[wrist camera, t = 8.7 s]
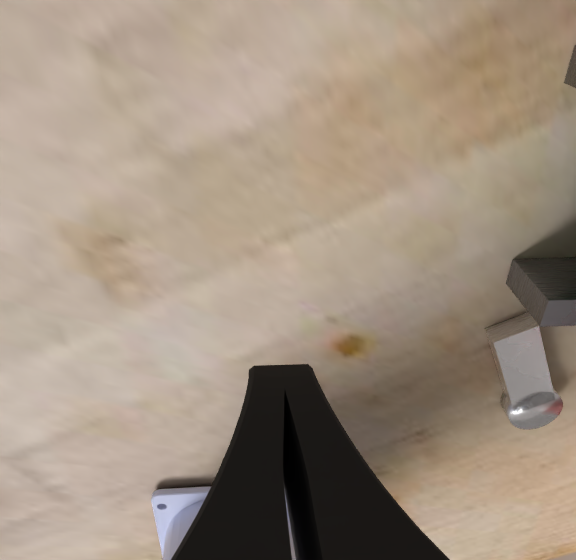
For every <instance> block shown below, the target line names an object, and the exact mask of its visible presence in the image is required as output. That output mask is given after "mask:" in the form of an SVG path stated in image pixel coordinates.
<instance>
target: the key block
mask: <svg viewBox="0 0 576 560" xmlns="http://www.w3.org/2000/svg"><path fill="white" fill-rule="evenodd" d="M485 331H486V334H487V338H488V341H489V344H490V348H491V351H492V354H493V358H494V361H495V364H496V368H497V371H498V374H499V378H500V381H501V384H502V388H503V391H504V393H503V395H502V397H501V405H502V408H503V409H504V411H505V413H506V415H507V416H508V418H509V420H510V422H511V423H512V424H513V425H514V426H515V427H517V428H520V429H535V428H539V427H542V426H544V425H547V424H548V423H550V422H551V421H553V420H554V419H555V418H556V417H557V416H558V415H559V414H560V412H561V410H562V407H563V401H562V399H561V397H560V396H559V394H558V393H557V392H556V390H555V389H554V387H553V386H552V382H551V377H550V373H549V369H548V364H547V360H546V355H545V351H544V346H543V342H542V337H541V333H540V328H539V325H538V324H537V323H536V322H535V320H534V319H533V318H532V316H531V315H530V314H529V313H525V314H523V315H520V316H517V317H515V318H512V319H509V320H506V321H504V322H501V323H498V324H496V325H493V326H490V327H488V328H485Z"/></svg>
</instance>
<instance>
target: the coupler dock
mask: <svg viewBox="0 0 576 560" xmlns="http://www.w3.org/2000/svg"><path fill="white" fill-rule="evenodd" d="M564 83H566V84H568V85H570V86H573V87H575V88H576V45H575V47H574V50H573V54H572V57H571V61H570V64H569V68H568V71H567V75H566V78H565V82H564ZM506 284H507V285H508V287H509V288H510V289H511V290H512V292H513V293H514V294H515V296H516V297H517V298H518V299H519V301H520V302H521V303H522V305H523V306H524V307H525V308H526V310H527V311H528V312H529V314H530V315H531V316H532V317H533V319H534V320H535V321H536V322H537V324H538V325H539V326H540V327H543V326H572V325H576V258H542V259H513V261H512V265H511V268H510V272H509V275H508V278H507V282H506Z"/></svg>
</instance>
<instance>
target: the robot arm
mask: <svg viewBox="0 0 576 560" xmlns="http://www.w3.org/2000/svg"><path fill="white" fill-rule="evenodd" d="M151 502H152V507H153V512H154V517H155V522H156V527H157V531H158V536H159V541H160V546H161V551H162V556H163V559H162V560H449V559H448V557H447V556H446V555H445V554H444V553H443V552H442V551H441V550H440V549H439V548H438V547H437V546H436V545H435V544H434V543H433V542H432V541H431V540H430V539H429V538H428V537H427V536H426V535H425V534H424V533H423V532H422V531H421V530H420V529H419V528H418V526H417V525H416V524H415V523H414V522H413V521H412V520H411V518H410V517H409V516H408V515H407V514H406V513H405V512H404V510H403V509H402V508H401V507H400V506H399V505H398V503H397V502H396V501H395V500H394V498H393V497H392V496H391V495H390V494H389V492H388V491H387V490H386V489H385V487H384V486H383V485H382V483H381V482H380V481H379V479H378V478H377V477H376V475H375V474H374V473H373V471H372V470H371V469H370V467H369V466H368V464H367V463H366V462H365V460H364V459H363V457H362V456H361V455H360V453H359V452H358V450H357V449H356V447H355V446H354V444H353V443H352V441H351V439H350V438H349V436H348V435H347V433H346V431H345V430H344V428H343V427H342V425H341V423H340V422H339V420H338V418H337V417H336V415H335V413H334V412H333V410H332V408H331V406H330V404H329V402H328V401H327V399H326V397H325V395H324V393H323V391H322V389H321V387H320V385H319V383H318V380H317V378H316V376H315V374H314V371H313V368H312V367H311V366H309V365H308V364H300V365H265V366H253V367H252V368H251V369H249V379H248V386H247V391H246V395H245V399H244V403H243V407H242V410H241V414H240V417H239V419H238V422H237V425H236V428H235V431H234V434H233V437H232V440H231V442H230V445H229V447H228V450H227V452H226V454H225V457H224V459H223V461H222V464H221V466H220V468H219V471H218V473H217V475H216V478H215V480H214V482H213V484H212V486H207V487H189V488H171V489H158V490H156V491H154V492H153V493H152V499H151Z"/></svg>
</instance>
